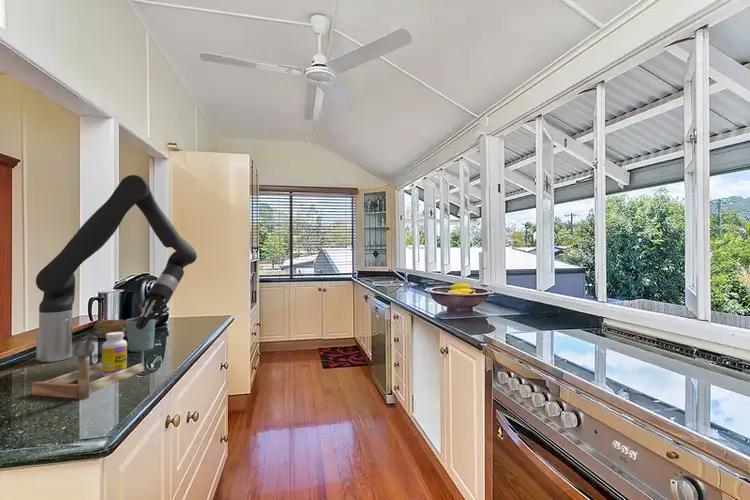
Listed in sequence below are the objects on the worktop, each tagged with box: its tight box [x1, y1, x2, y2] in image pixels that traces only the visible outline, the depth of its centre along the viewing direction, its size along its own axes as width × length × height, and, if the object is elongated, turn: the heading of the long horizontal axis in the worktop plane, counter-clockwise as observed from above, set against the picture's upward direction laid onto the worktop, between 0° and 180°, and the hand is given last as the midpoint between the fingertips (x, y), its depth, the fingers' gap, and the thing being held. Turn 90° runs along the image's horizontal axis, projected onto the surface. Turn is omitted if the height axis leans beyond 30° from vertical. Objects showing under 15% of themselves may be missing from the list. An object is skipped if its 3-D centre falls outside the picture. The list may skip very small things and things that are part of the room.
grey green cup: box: [125, 316, 156, 353], centre depth 154 cm, size 10×10×12 cm
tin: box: [92, 319, 127, 339], centre depth 171 cm, size 15×3×8 cm, turn 91°
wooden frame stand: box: [31, 335, 145, 400], centre depth 114 cm, size 25×19×16 cm
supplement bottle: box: [101, 332, 128, 377], centre depth 123 cm, size 7×7×13 cm
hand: (138, 328), depth 133 cm, fingers closed
